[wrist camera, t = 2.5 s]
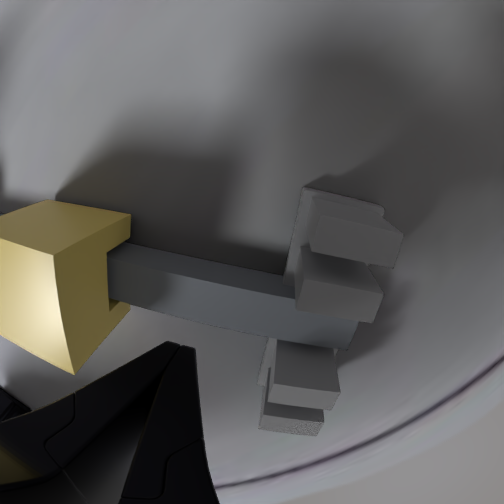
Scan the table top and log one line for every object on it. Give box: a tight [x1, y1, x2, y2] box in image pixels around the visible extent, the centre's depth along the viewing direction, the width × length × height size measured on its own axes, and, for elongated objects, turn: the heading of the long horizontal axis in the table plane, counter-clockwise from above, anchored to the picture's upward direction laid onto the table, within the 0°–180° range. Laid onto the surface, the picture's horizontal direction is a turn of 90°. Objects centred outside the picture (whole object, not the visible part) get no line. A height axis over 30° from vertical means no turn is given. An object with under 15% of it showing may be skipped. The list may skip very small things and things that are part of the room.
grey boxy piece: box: [257, 187, 404, 436], centre depth 11 cm, size 3×9×4 cm, turn 170°
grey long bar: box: [0, 213, 359, 350], centre depth 11 cm, size 28×4×4 cm, turn 80°
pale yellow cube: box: [0, 200, 131, 375], centre depth 10 cm, size 5×5×5 cm
